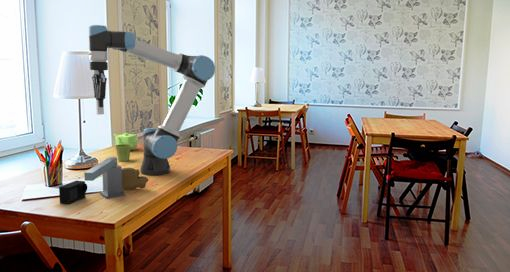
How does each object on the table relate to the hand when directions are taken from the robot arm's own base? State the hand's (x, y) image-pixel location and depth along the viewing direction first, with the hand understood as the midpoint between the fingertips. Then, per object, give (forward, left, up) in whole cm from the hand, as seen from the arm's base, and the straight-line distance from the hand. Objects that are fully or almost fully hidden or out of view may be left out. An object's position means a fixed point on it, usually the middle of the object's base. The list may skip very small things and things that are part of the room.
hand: (100, 114), depth 192 cm
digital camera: (+17, +18, -33) cm, 41 cm away
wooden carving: (-7, +15, -33) cm, 37 cm away
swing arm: (+9, +28, -19) cm, 35 cm away
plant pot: (-26, -42, -33) cm, 59 cm away
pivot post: (+2, +19, -32) cm, 38 cm away
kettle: (-38, -70, -33) cm, 86 cm away
